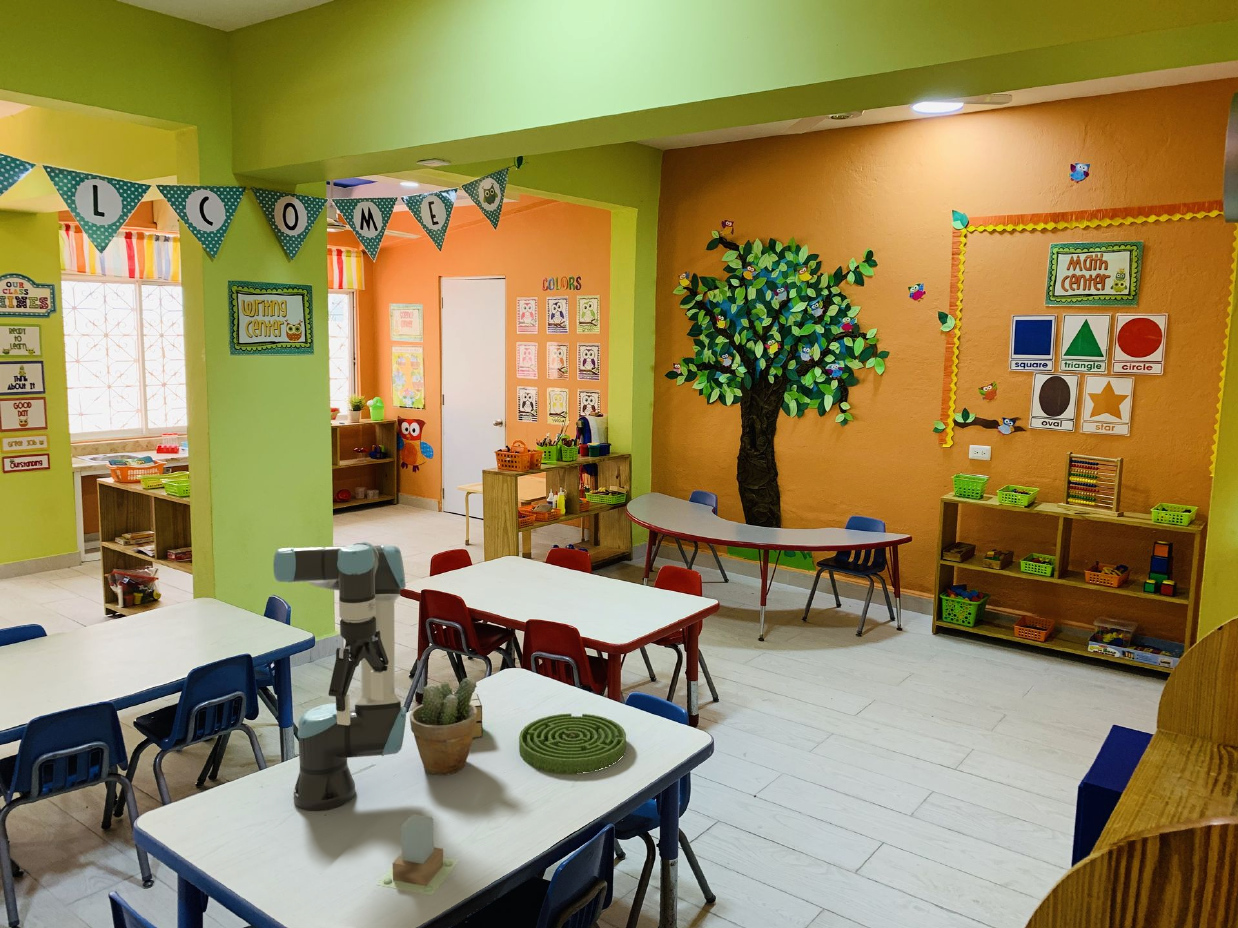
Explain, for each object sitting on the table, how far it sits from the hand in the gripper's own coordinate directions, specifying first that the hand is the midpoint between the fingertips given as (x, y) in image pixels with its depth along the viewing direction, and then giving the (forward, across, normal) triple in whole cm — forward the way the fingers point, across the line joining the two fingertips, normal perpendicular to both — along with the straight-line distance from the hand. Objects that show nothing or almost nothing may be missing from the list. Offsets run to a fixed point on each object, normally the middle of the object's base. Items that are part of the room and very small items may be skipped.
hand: (361, 711), depth 196 cm
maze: (+37, +69, -26) cm, 83 cm away
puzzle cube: (+37, +70, +9) cm, 80 cm away
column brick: (+32, 0, -13) cm, 34 cm away
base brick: (+36, 0, -13) cm, 38 cm away
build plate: (+37, 0, -13) cm, 39 cm away
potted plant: (+37, +49, +5) cm, 62 cm away
